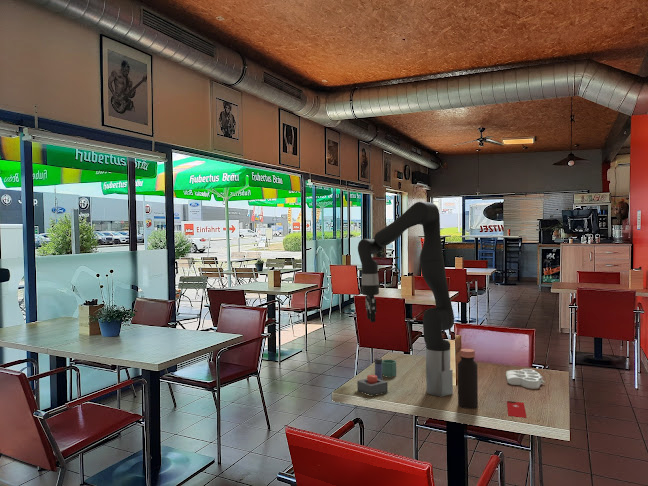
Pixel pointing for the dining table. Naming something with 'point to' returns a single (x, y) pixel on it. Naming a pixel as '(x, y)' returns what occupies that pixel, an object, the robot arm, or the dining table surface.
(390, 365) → the pen cup
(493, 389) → the dining table surface
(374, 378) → the button
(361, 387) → the button console
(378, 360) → the marker
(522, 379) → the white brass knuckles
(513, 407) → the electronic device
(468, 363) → the bottle
